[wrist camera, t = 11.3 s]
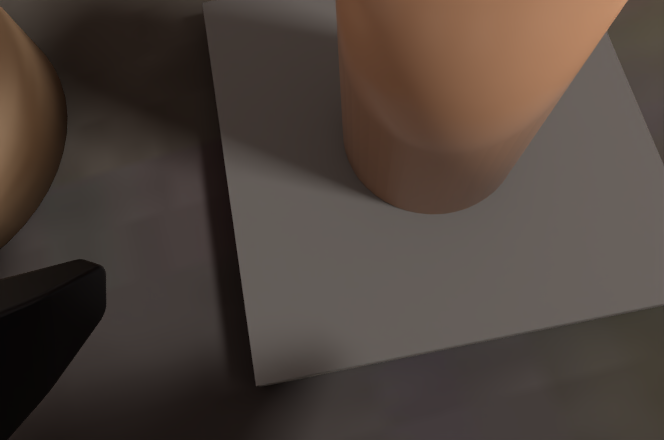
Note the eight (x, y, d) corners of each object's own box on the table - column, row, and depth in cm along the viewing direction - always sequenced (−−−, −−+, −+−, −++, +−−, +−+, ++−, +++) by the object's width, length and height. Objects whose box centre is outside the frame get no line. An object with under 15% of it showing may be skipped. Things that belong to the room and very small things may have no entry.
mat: (694, 299, 15) (717, 292, 14) (262, 386, 14) (255, 385, 13) (554, -43, 18) (565, -66, 17) (210, 23, 18) (202, 2, 17)
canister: (497, 235, 14) (768, -72, 5) (320, 186, 15) (257, -168, 6) (533, 80, 16) (798, -393, 6) (370, 41, 16) (388, -439, 7)
